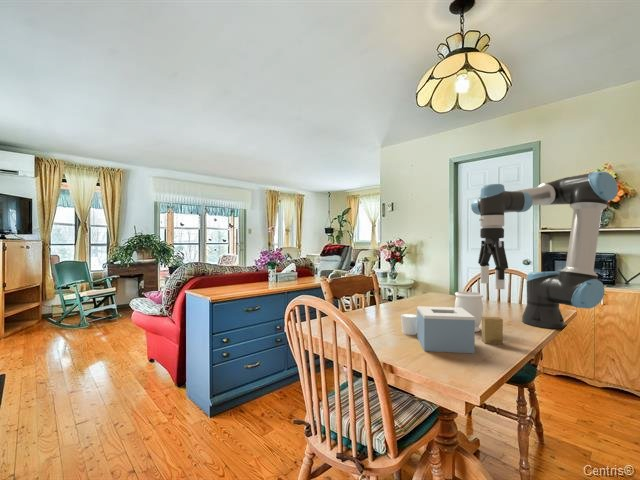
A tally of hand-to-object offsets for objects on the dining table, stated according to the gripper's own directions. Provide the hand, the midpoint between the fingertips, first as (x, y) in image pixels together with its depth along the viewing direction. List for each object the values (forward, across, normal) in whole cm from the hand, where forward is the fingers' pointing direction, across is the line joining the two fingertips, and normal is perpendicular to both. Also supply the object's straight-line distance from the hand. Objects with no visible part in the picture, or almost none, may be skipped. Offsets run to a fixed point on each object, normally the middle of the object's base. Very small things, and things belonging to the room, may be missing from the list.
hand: (491, 286), depth 113 cm
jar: (+21, -16, -3) cm, 26 cm away
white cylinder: (+21, -8, -28) cm, 36 cm away
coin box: (+21, +5, -18) cm, 28 cm away
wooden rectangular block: (+21, 0, 0) cm, 21 cm away
